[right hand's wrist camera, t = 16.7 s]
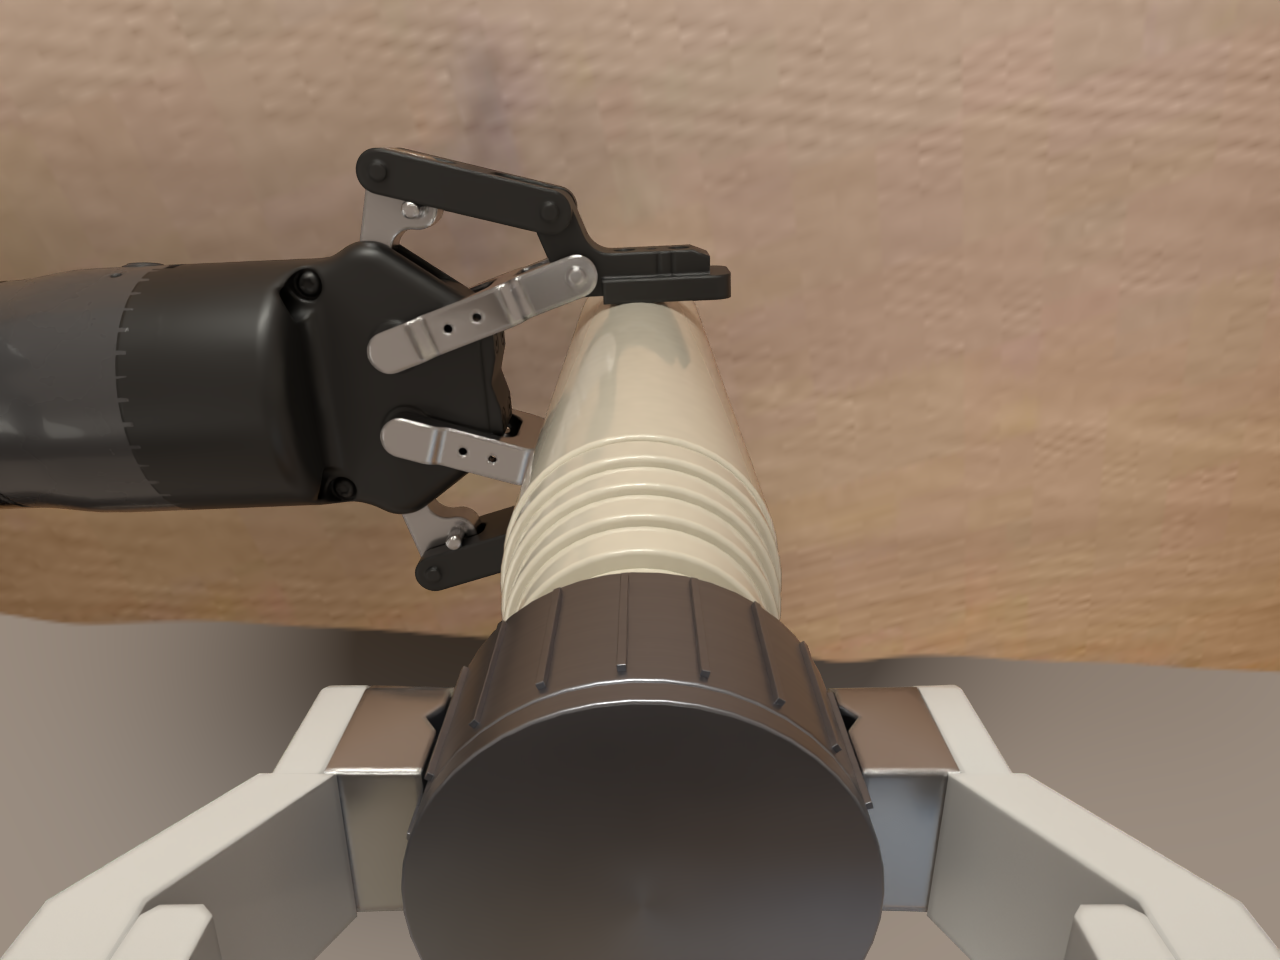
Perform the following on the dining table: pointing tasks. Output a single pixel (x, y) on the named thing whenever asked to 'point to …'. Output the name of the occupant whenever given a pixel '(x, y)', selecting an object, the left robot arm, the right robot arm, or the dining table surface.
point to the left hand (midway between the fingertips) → (726, 366)
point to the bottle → (640, 466)
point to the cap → (642, 789)
